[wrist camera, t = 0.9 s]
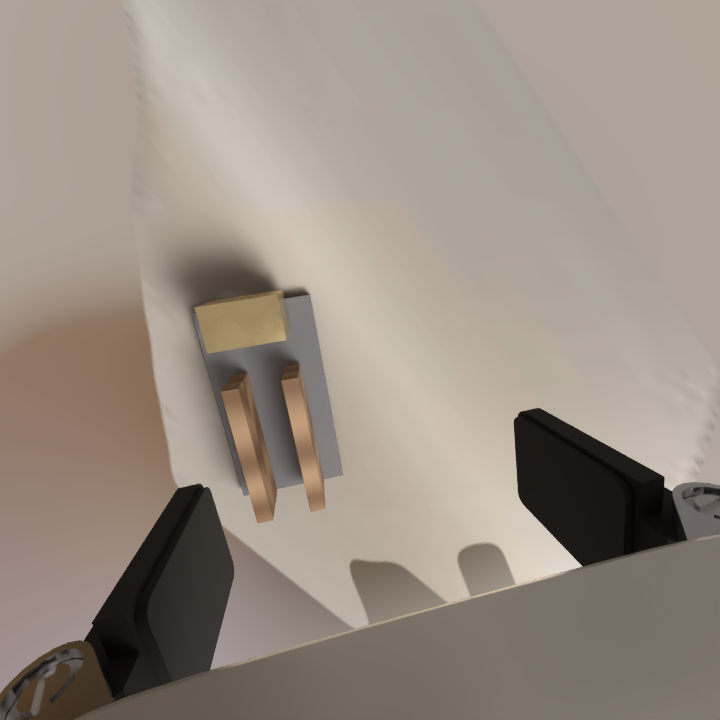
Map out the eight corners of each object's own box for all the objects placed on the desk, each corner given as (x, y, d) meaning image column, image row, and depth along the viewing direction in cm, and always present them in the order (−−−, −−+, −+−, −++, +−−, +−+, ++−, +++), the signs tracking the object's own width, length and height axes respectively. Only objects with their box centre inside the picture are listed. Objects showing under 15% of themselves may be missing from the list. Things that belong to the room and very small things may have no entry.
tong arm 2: (232, 375, 37) (220, 391, 32) (247, 372, 37) (238, 388, 32) (263, 493, 41) (257, 523, 36) (277, 490, 41) (272, 520, 36)
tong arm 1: (285, 365, 37) (281, 380, 32) (299, 363, 37) (298, 377, 33) (310, 483, 41) (310, 511, 37) (323, 480, 42) (325, 508, 37)
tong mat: (195, 312, 36) (191, 313, 35) (309, 294, 37) (309, 295, 36) (245, 489, 42) (243, 495, 41) (342, 469, 43) (343, 474, 42)
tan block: (214, 300, 34) (194, 307, 28) (282, 289, 35) (276, 294, 29) (224, 338, 36) (207, 353, 29) (290, 327, 36) (286, 340, 30)
